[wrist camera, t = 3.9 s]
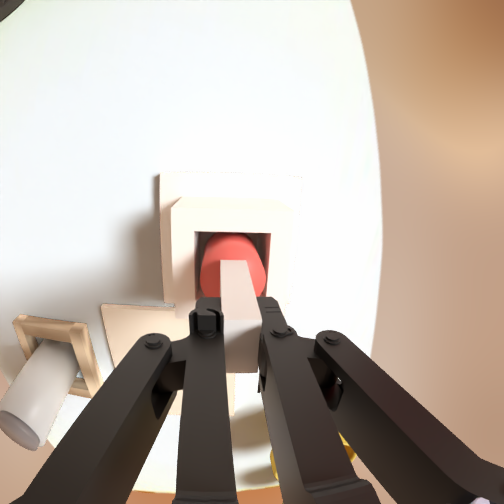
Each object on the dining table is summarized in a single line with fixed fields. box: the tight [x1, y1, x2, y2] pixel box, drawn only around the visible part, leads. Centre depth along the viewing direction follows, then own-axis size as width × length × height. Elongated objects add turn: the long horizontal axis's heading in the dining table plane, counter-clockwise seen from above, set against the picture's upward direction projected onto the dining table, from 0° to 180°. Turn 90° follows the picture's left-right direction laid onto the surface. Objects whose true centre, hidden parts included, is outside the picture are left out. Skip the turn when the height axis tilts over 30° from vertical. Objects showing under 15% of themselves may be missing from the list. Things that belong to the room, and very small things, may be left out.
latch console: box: [160, 172, 302, 319], centre depth 22 cm, size 12×12×7 cm
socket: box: [13, 314, 104, 399], centre depth 27 cm, size 10×10×2 cm
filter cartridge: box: [0, 338, 80, 451], centre depth 21 cm, size 6×6×14 cm
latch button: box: [200, 232, 266, 297], centre depth 20 cm, size 4×4×5 cm
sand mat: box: [101, 304, 235, 416], centre depth 29 cm, size 16×14×1 cm
